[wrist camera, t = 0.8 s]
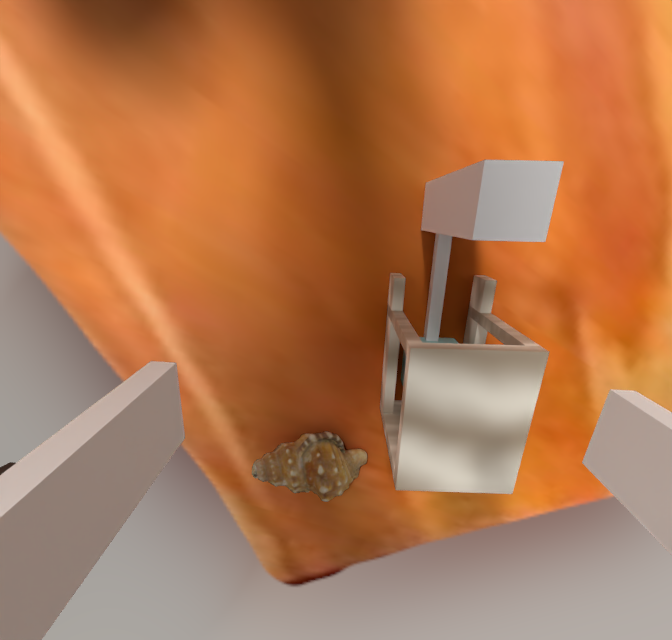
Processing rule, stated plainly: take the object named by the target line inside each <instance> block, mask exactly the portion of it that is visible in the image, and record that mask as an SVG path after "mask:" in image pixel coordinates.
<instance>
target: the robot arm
mask: <svg viewBox="0 0 672 640" xmlns="http://www.w3.org/2000/svg"><path fill="white" fill-rule="evenodd" d="M184 439H185V434H184V425H183V416H182V408H181V399H180V391H179V382H178V373H177V365H176V363H173V362H157V361H151V362H149V363H148V364H147V365H145V366H144V367H143V368H141V369H140V370H139V371H137V372H136V373H135V374H133V375H132V376H131V377H129V378H128V379H127V380H125V381H124V382H123V383H122V384H120V385H119V386H118V387H116V388H115V389H114V390H113V391H111V392H110V393H108V394H107V395H106V396H104V397H103V398H102V399H100V400H99V401H98V402H96V403H95V404H94V405H92V406H91V407H90V408H89V409H87V410H86V411H85V412H83V413H82V414H81V415H79V416H78V417H77V418H75V419H74V420H73V421H71V422H70V423H69V424H67V425H66V426H65V427H63V428H62V429H61V430H59V431H58V432H57V433H55V434H54V435H53V436H51V437H50V438H49V439H47V440H46V441H45V442H44V443H42V444H41V445H40V446H38V447H37V448H36V449H34V450H33V451H32V452H30V453H29V454H28V455H26V456H25V457H24V458H22V459H21V460H20V461H18V462H17V463H8V464H6V465H4V466H2V467H0V640H42V638H43V637H44V636H45V634H46V633H47V631H48V630H49V629H50V627H51V626H52V624H53V623H54V621H55V620H56V619H57V617H58V616H59V614H60V613H61V612H62V610H63V609H64V607H65V606H66V605H67V603H68V602H69V600H70V599H71V597H72V596H73V595H74V593H75V592H76V590H77V589H78V588H79V586H80V585H81V584H82V582H83V581H84V579H85V578H86V577H87V575H88V574H89V572H90V571H91V569H92V568H93V567H94V565H95V564H96V562H97V561H98V560H99V558H100V557H101V555H102V554H103V553H104V551H105V550H106V548H107V547H108V546H109V544H110V543H111V541H112V540H113V539H114V537H115V536H116V534H117V533H118V532H119V530H120V529H121V527H122V526H123V524H124V523H125V522H126V520H127V519H128V517H129V516H130V515H131V513H132V512H133V510H134V509H135V508H136V506H137V505H138V503H139V502H140V501H141V499H142V498H143V496H144V495H145V493H146V492H147V491H148V489H149V488H150V486H151V485H152V484H153V482H154V481H155V480H156V478H157V477H158V475H159V474H160V473H161V471H162V470H163V468H164V467H165V465H166V464H167V463H168V461H169V460H170V458H171V457H172V456H173V454H174V453H175V451H176V450H177V449H178V447H179V446H180V444H181V443H182V442H183V440H184ZM582 463H583V464H584V465H585V466H586V467H587V468H588V469H589V470H590V471H591V472H592V474H593V475H594V476H595V477H596V478H597V479H598V480H599V481H600V482H601V483H602V484H603V485H604V486H605V487H606V488H607V489H608V490H609V491H610V492H611V493H612V494H613V495H614V496H615V497H616V498H617V499H618V500H619V501H620V502H621V503H622V504H623V506H625V507H626V509H627V510H628V511H629V512H630V513H631V514H632V515H633V516H634V517H635V518H636V519H637V520H638V521H639V522H640V523H641V524H642V525H643V526H644V527H645V528H646V529H647V530H648V531H649V532H650V533H651V534H652V535H653V536H654V538H655V539H657V540H658V542H659V543H660V544H661V545H662V546H663V547H664V548H665V549H666V550H667V551H668V552H669V553H670V554H671V555H672V413H671V412H670V411H668V410H666V409H665V408H663V407H661V406H660V405H658V404H656V403H655V402H653V401H651V400H650V399H648V398H646V397H645V396H643V395H641V394H640V393H638V392H636V391H628V390H611V389H610V391H609V394H608V396H607V399H606V401H605V404H604V407H603V409H602V412H601V415H600V417H599V420H598V422H597V425H596V428H595V430H594V433H593V436H592V438H591V441H590V443H589V446H588V449H587V451H586V454H585V456H584V459H583V462H582Z"/></svg>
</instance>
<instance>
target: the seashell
mask: <svg viewBox="0 0 672 640" xmlns="http://www.w3.org/2000/svg"><path fill="white" fill-rule="evenodd" d="M366 462H367V453H366V452H365V451H364V450H362V449H350V450H344V445H343V441H342V439H340V438H339V436H338V435H337V434H334V433H331V432H328V431H325V432H323V433H315V434H310V433H307V434H302V435H301V436H300V438H299V439H298V440H296V441H294V442H288V443H281V444H280V445H278V446H277V448H276V449H275V450H274V451H273V452H269V453H266V454H264V455H263V457H262V458H261V459H257V460H256V461H255V462H254V464H253V467H252V475H253V477H254V478H258V479H259V480H261V481H263V482H264V481H268V482H269V483H271V484H272V485H274V486H286V487H288V488H289V489H290V490H291V491H292V492H293V493H300V492H309V491H313V492H314V493H315V494H317V495H318V496H319V497H320V499H321V500H322V501H326V502H328V501H330V500H331V499H332V498H334V497H336V496H340V495H342V493H343V492H344V490H347V489H348V488H349V483H351V482H352V481H353V480H354V479H355V478H357V477H358V475H359V470H360V466H362V465H364V464H366Z"/></svg>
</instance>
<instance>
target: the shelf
mask: <svg viewBox="0 0 672 640" xmlns="http://www.w3.org/2000/svg"><path fill="white" fill-rule="evenodd" d="M405 280H406V278H405V277H404V276H403V275H402V274H401V273H390V282H389V295H388V308H387V321H386V334H385V347H384V360H383V373H382V386H381V399H380V411H381V416H382V421H383V427H384V432H385V437H386V442H387V447H388V453H389V458H390V463H391V468H392V473H393V479H394V484H395V489H396V490H411V491H440V492H469V493H498V494H512V493H513V489H514V485H515V482H516V478H517V474H518V470H519V466H520V462H521V459H522V455H523V451H524V447H525V443H526V440H527V436H528V432H529V428H530V424H531V420H532V417H533V413H534V409H535V405H536V401H537V398H538V394H539V390H540V386H541V382H542V378H543V375H544V371H545V367H546V363H547V359H548V356H549V351H547V350H546V349H544V348H543V347H541V346H540V345H538V344H537V343H535V342H534V341H532V340H531V339H529V338H527V337H526V336H524V335H523V334H521V333H520V332H518V331H517V330H515V329H514V328H512V327H511V326H509V325H508V324H506V323H505V322H503V321H502V320H500V319H499V318H497V317H496V316H494V315H493V314H491V310H492V304H493V299H494V294H495V288H496V283H497V280H494V279H492V278H490V277H487V276H485V275H474V279H473V285H472V292H471V298H470V304H469V310H468V316H467V322H466V328H465V334H464V340H463V344H453V343H422V341H421V339H420V338H419V336H418V335H417V333H416V331H415V330H414V328H413V327H412V325H411V323H410V322H409V320H408V319H407V317H406V315H405V314H404V312H403V301H404V291H405ZM487 331H488V332H489V333H491V334H492V335H493V336H494V337H496V338H497V339H498V340H499V341H501V342H502V343H503V344H504V345H489V344H485V342H486V336H487ZM400 342H401V345H402V347H403V349H404V351H405V353H406V365H405V375H404V384H403V394H402V400H394V397H395V387H396V376H397V365H398V355H399V344H400Z"/></svg>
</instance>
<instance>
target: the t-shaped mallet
mask: <svg viewBox="0 0 672 640" xmlns="http://www.w3.org/2000/svg"><path fill="white" fill-rule="evenodd" d="M563 162H564V161H522V160H483V161H480V162H478V163H475V164H473V165H470V166H467V167H465V168H462V169H460V170H457V171H455V172H452V173H450V174H447V175H444V176H442V177H439V178H437V179H434V180H432V181H429V182H426V186H425V196H424V205H423V215H422V225H421V230H423V231H428V232H433V233H436V237H435V245H434V254H433V262H432V270H431V279H430V287H429V295H428V304H427V312H426V321H425V329H424V337H419V338H420V339H421V341H422V343H453V344H459V343H458V342H457V341H456V340H455V339H454V338H439V331H440V324H441V316H442V309H443V302H444V294H445V287H446V280H447V272H448V265H449V258H450V250H451V243H452V236H453V237H459V238H464V239H469V240H485V241H527V242H545V241H546V237H547V232H548V228H549V224H550V219H551V215H552V210H553V206H554V202H555V197H556V193H557V189H558V184H559V180H560V175H561V171H562V167H563ZM405 365H406V353H405V351H403V361H402V371H401V383H402V385H403V384H404V375H405Z"/></svg>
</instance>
